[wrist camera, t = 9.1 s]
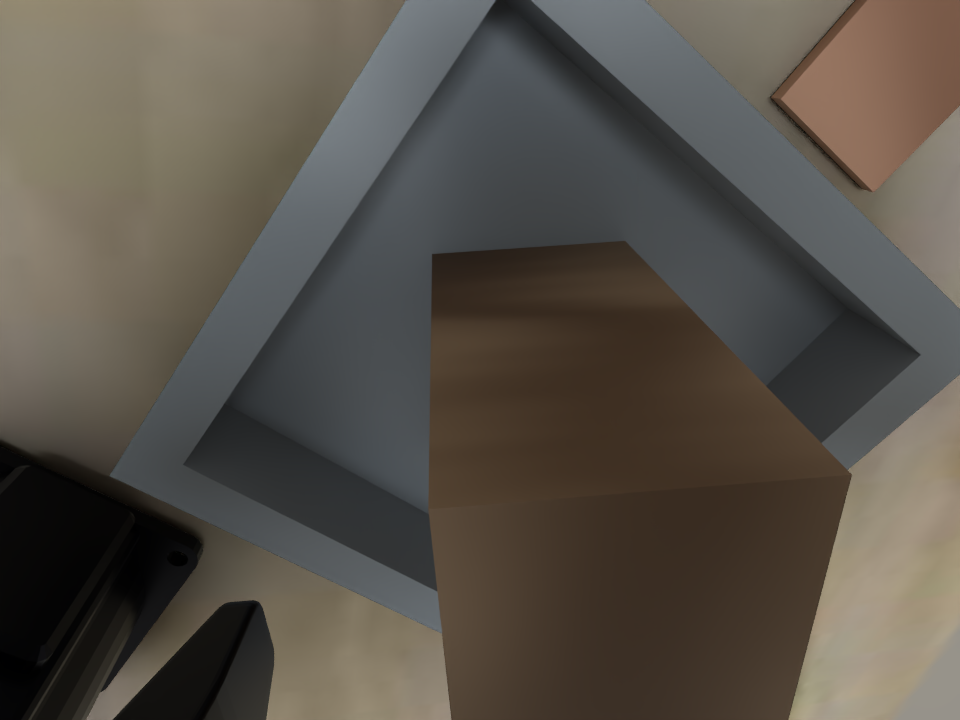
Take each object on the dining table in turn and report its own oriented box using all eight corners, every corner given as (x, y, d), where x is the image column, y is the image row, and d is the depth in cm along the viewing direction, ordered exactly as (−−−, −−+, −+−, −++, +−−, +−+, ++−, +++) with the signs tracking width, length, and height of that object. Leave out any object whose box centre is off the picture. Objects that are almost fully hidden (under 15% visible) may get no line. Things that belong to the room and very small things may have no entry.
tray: (558, 604, 19) (579, 698, 16) (168, 397, 15) (109, 475, 12) (893, 289, 15) (995, 344, 12) (481, -99, 11) (496, -145, 8)
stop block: (449, 455, 15) (462, 818, 8) (432, 254, 13) (427, 509, 6) (614, 442, 15) (770, 788, 8) (625, 240, 13) (852, 474, 6)
